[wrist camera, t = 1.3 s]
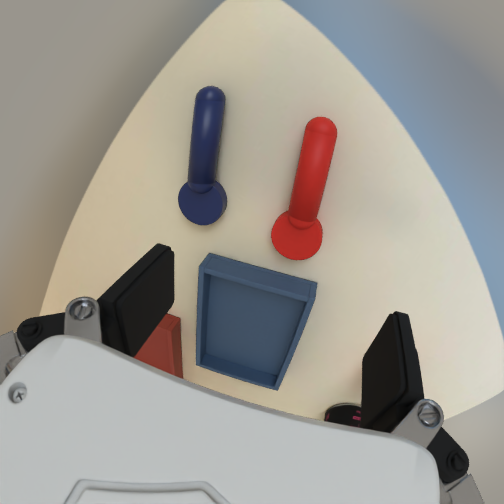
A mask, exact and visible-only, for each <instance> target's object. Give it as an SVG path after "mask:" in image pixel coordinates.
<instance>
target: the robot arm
mask: <svg viewBox="0 0 504 504" xmlns="http://www.w3.org/2000/svg"><path fill="white" fill-rule="evenodd" d="M173 303H174V252H173V251H171V247H169V246H166V245H162V244H156V245H155V246H154V247H153V248H152V249H151V250H150V251H148V252H147V253H146V254H145V255H144V256H143V257H142V258H141V259H140V260H139V261H137V262H136V263H135V264H134V265H133V266H132V267H131V268H130V269H129V270H128V271H127V272H125V273H124V274H123V275H122V276H121V277H120V278H119V279H118V280H117V281H116V282H115V283H114V284H113V285H112V286H111V287H110V288H109V289H108V290H107V291H106V292H105V293H104V294H103V295H102V296H101V297H100V298H99V299H98V300H97V301H96V300H95V299H93V298H90V297H79V298H76V299H74V300H72V301H71V302H70V303H69V304H68V305H67V307H66V310H65V312H64V313H58V314H52V315H46V316H40V317H34V318H30V319H27V320H25V321H23V322H22V323H21V324H20V325H19V327H18V329H17V332H16V333H14V332H13V331H10V332H8V333H6V334H3V335H1V336H0V504H484V502H483V499H482V497H481V495H480V492H479V490H478V488H477V486H476V484H475V482H474V480H473V477H472V475H471V474H469V475H468V474H467V470H468V467H469V459H468V456H467V454H466V453H465V451H464V450H463V449H462V448H461V447H460V446H459V445H458V444H457V443H456V442H455V441H454V439H453V438H452V437H451V436H450V435H449V434H448V433H447V432H446V431H445V430H444V429H443V428H442V427H441V426H442V424H443V421H444V415H443V411H442V409H441V407H440V406H439V405H438V404H437V403H436V402H435V401H433V400H430V399H424V392H423V384H422V378H421V371H420V365H419V359H418V353H417V350H416V348H415V344H414V339H413V334H412V329H411V324H410V320H409V316H408V314H405V313H401V312H397V311H395V312H394V313H393V314H389V316H388V317H387V319H386V321H385V323H384V324H383V326H382V328H381V329H380V331H379V333H378V334H377V336H376V337H375V339H374V341H373V342H372V344H371V345H370V347H369V349H368V350H367V352H366V353H365V355H364V357H363V361H362V400H361V420H360V427H361V428H357V427H351V426H346V425H341V424H336V423H331V422H326V421H321V420H316V419H311V418H307V417H303V416H298V415H294V414H290V413H286V412H283V411H279V410H275V409H271V408H268V407H264V406H261V405H257V404H254V403H250V402H247V401H244V400H241V399H238V398H235V397H231V396H228V395H225V394H222V393H220V392H217V391H214V390H211V389H208V388H205V387H203V386H200V385H197V384H195V383H192V382H189V381H187V380H184V379H182V378H179V377H177V376H174V375H172V374H169V373H167V372H165V371H162V370H160V369H158V368H155V367H153V366H151V365H148V364H146V363H144V362H142V361H139V360H137V359H135V358H133V357H135V356H136V354H137V353H138V352H139V350H140V349H141V347H142V346H143V345H144V343H145V342H146V341H147V339H148V338H149V336H150V335H151V334H152V332H153V331H154V330H155V328H156V327H157V326H158V324H159V323H160V322H161V320H162V319H163V317H164V316H165V315H166V313H167V312H168V311H169V309H170V308H171V307H172V305H173Z"/></svg>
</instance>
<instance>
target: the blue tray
mask: <svg viewBox="0 0 504 504" xmlns="http://www.w3.org/2000/svg"><path fill="white" fill-rule="evenodd" d="M316 289H317V283H316V282H312V281H308V280H305V279H301V278H297V277H294V276H290V275H286V274H283V273H279V272H276V271H272V270H268V269H265V268H261V267H257V266H254V265H250V264H247V263H243V262H240V261H236V260H232V259H229V258H225V257H222V256H218V255H215V254H211V253H209V254H208V255H207V256H206V258H205V259H204V260H203V262H202V263H201V264H200V266H199V276H198V298H197V328H196V365H197V366H200V367H203V368H206V369H209V370H211V371H214V372H217V373H220V374H223V375H226V376H229V377H232V378H236V379H239V380H242V381H245V382H249V383H252V384H255V385H259V386H262V387H266V388H270V389H273V390H277V391H278V389H279V387H280V384H281V382H282V380H283V378H284V375H285V373H286V371H287V368H288V366H289V364H290V361H291V359H292V357H293V354H294V352H295V349H296V347H297V344H298V342H299V340H300V337H301V335H302V332H303V330H304V327H305V324H306V322H307V319H308V317H309V314H310V311H311V309H312V306H313V304H314V301H315V297H316Z"/></svg>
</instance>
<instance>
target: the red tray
mask: <svg viewBox="0 0 504 504" xmlns="http://www.w3.org/2000/svg"><path fill="white" fill-rule="evenodd" d="M133 358H135V359H137V360H139V361H142V362H144V363H146V364H148V365H151V366H153V367H155V368H158V369H160V370H162V371H165V372H167V373H169V374H172V375H174V376H177V377H179V378H182V379H183V373H182V355H181V331H180V318H178V317H175V316H173V315H170V314H167V313H166V315H165V316H164V317H163V319H162V320H161V322H160V323H159V324H158V326H157V327H156V328H155V330H154V331H153V332H152V334H151V335H150V336H149V338H148V339H147V341H146V342H145V343H144V345H143V346H142V347H141V349H140V350H139V352H138V353H137V354H136V356H135V357H133Z"/></svg>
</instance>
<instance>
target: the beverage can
mask: <svg viewBox="0 0 504 504" xmlns="http://www.w3.org/2000/svg"><path fill="white" fill-rule="evenodd" d="M360 420H361V406H359V405H356V404H339V405H336V406H333V407H332V408H330V409H329V410H327V412H326V413H325V419H324V421H326V422H331V423H336V424H341V425H346V426H351V427H357V428H361V427H360Z"/></svg>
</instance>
